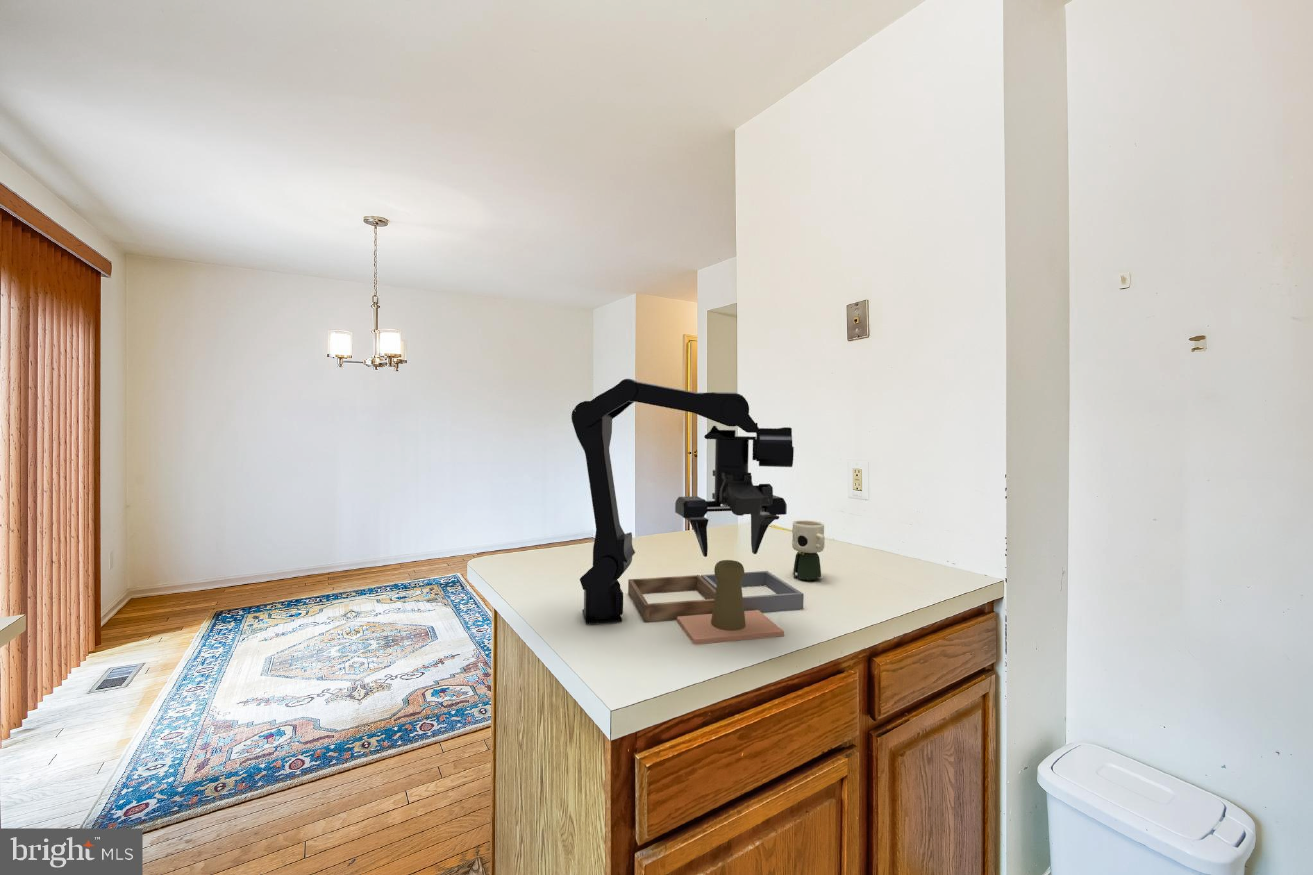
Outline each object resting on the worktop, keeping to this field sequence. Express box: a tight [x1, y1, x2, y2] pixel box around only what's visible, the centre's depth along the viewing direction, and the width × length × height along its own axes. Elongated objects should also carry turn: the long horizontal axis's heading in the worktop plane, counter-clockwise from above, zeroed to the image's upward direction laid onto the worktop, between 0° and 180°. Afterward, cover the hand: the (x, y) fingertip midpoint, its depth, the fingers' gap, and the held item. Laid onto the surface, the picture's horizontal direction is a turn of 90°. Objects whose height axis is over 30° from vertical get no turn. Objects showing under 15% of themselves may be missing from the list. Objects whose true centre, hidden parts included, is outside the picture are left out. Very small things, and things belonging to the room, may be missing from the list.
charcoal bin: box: [700, 570, 805, 613], centre depth 106 cm, size 16×16×3 cm
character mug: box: [791, 519, 826, 581], centre depth 120 cm, size 11×7×13 cm, turn 22°
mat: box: [676, 610, 785, 645], centre depth 90 cm, size 16×10×1 cm, turn 104°
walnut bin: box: [627, 574, 716, 623], centre depth 102 cm, size 16×16×3 cm
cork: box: [711, 559, 746, 631], centre depth 90 cm, size 6×6×11 cm
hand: (730, 554), depth 90 cm, fingers open, 9 cm apart
